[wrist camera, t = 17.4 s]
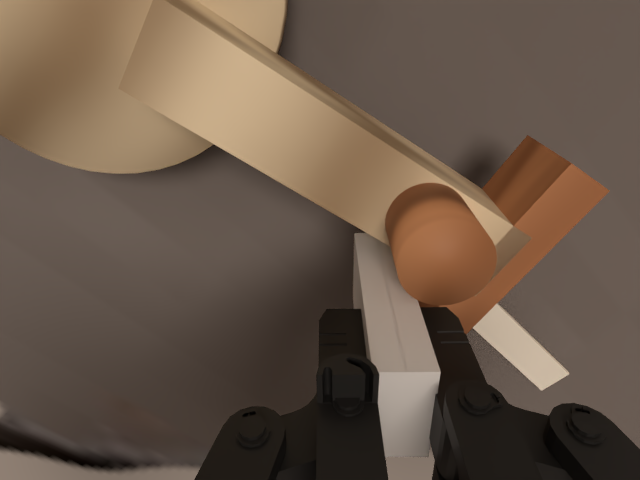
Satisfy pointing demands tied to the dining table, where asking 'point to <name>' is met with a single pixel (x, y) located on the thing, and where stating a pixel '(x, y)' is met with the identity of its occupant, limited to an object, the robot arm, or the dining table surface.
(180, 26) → the crank
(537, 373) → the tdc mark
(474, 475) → the robot arm
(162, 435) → the dining table surface
